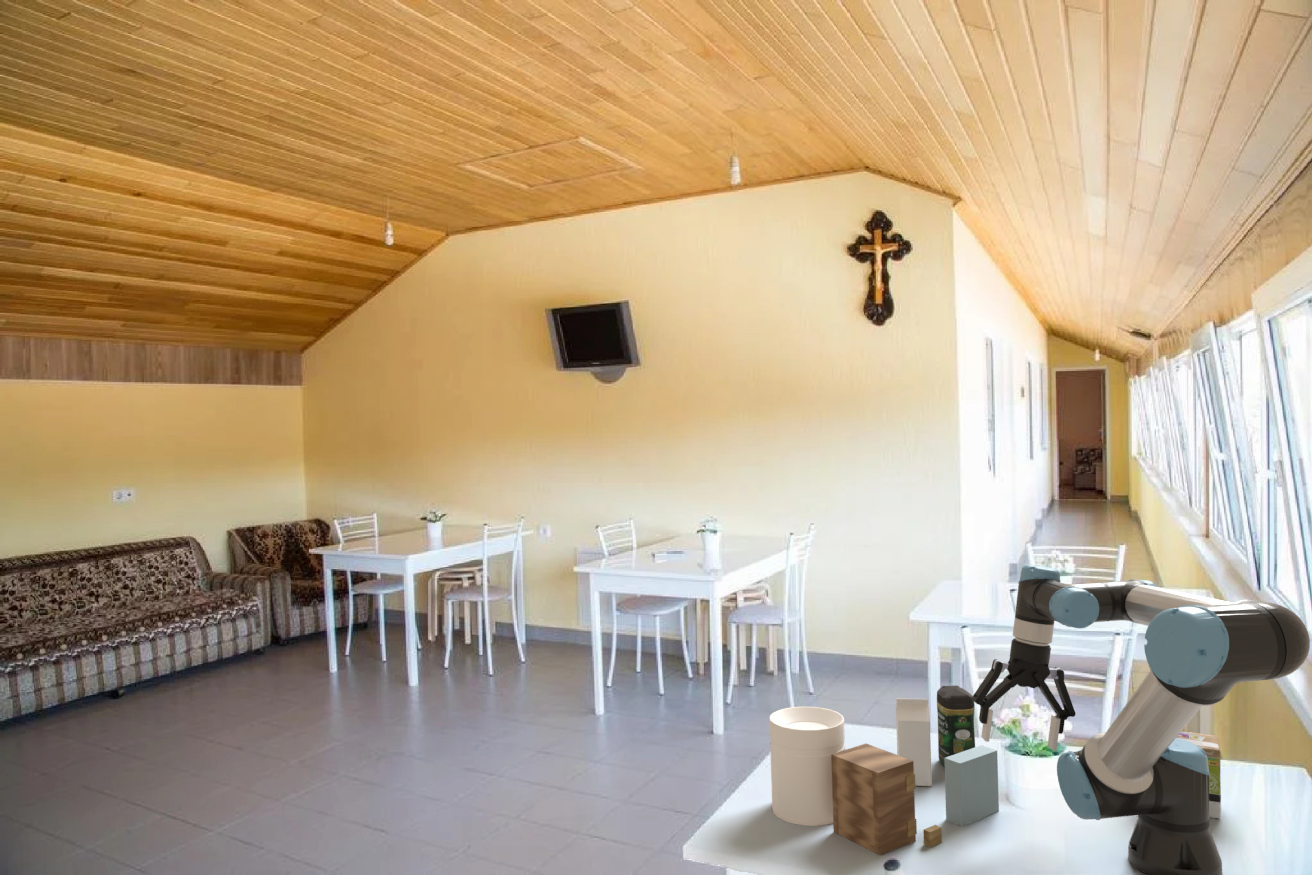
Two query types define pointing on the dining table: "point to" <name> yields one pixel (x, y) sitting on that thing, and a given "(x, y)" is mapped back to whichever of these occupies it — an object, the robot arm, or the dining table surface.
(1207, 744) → the tea box
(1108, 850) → the dining table surface
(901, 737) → the milk carton
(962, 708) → the coffee jar
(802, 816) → the canister
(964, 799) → the door
